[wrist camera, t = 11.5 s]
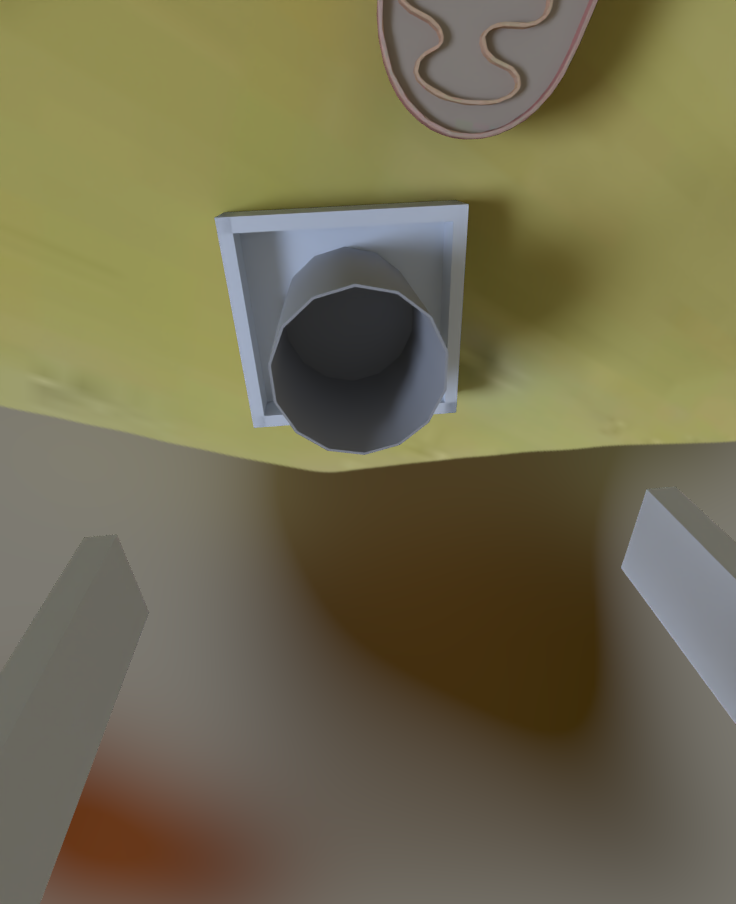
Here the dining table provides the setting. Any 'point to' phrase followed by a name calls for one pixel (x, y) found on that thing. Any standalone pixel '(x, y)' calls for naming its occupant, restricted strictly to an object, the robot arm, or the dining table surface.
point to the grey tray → (325, 229)
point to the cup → (356, 354)
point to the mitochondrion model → (478, 58)
